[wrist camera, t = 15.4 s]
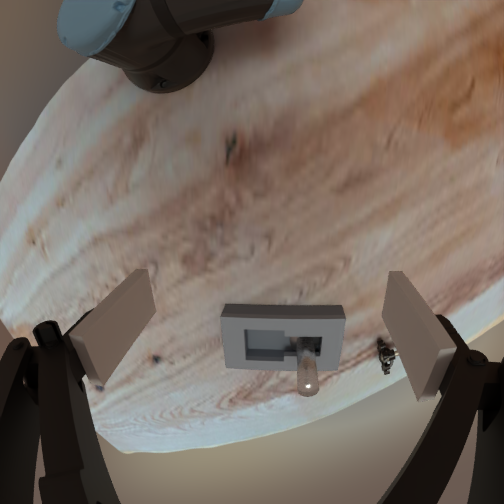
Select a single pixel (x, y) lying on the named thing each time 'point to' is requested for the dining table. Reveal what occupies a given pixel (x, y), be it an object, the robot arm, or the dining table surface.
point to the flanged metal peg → (306, 364)
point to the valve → (386, 356)
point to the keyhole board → (280, 335)
